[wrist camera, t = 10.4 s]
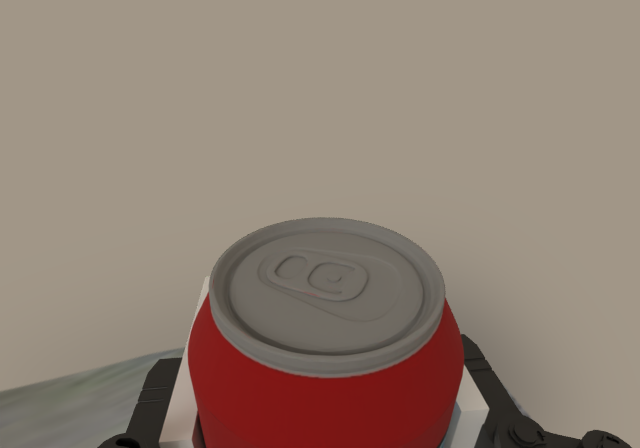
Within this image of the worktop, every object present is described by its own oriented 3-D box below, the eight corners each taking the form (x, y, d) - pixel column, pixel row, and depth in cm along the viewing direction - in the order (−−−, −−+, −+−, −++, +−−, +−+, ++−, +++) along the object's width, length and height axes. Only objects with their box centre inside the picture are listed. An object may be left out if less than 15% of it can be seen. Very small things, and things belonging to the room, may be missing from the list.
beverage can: (386, 709, 10) (476, 475, 4) (194, 583, 12) (93, 323, 7) (422, 471, 16) (484, 231, 10) (284, 414, 18) (271, 193, 12)
